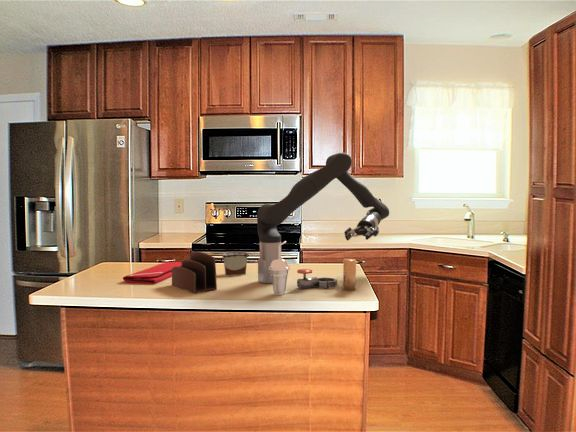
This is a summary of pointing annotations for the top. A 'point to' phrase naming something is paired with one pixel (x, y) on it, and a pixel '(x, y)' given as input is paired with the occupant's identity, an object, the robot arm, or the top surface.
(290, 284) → the top surface
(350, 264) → the copper cylinder
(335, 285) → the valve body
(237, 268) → the food container
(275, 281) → the cup with straw
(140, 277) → the dish drying mat
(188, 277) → the letter holder
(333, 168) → the robot arm
